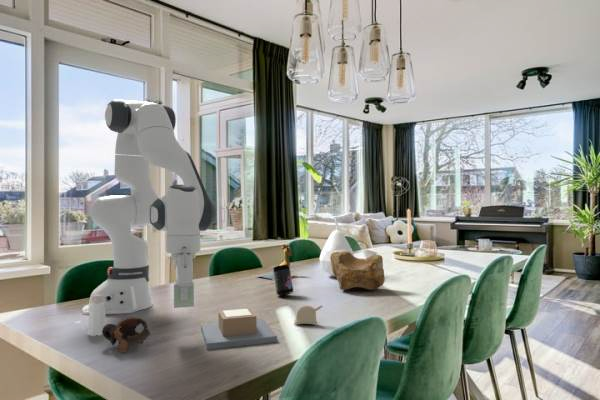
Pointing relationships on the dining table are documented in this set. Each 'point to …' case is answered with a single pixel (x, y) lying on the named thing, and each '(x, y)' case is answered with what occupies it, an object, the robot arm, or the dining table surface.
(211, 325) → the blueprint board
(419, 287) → the dining table surface
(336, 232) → the pear ornament
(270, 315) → the dining table surface
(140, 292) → the robot arm
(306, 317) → the decorative ornament
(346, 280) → the rough brown rock
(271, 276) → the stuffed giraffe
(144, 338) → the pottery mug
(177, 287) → the sage block
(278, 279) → the supplement container
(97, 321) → the pepper shaker
